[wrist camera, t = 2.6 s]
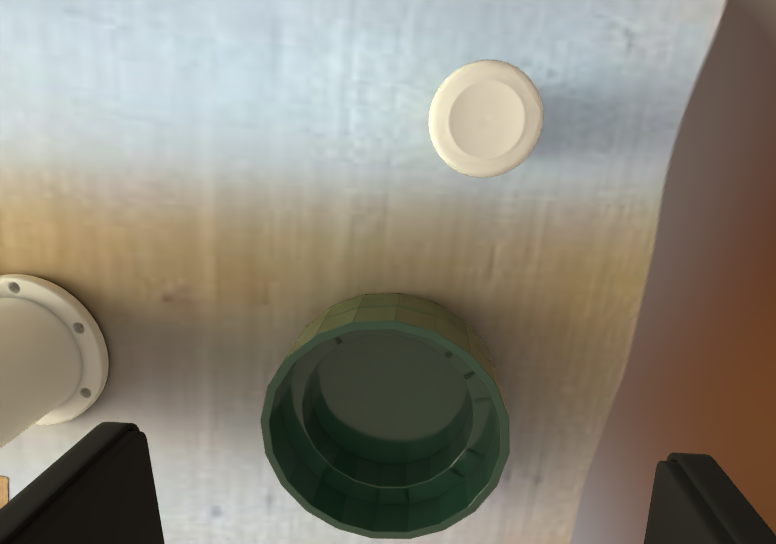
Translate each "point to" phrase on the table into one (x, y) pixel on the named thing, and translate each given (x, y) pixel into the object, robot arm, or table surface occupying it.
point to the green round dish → (387, 418)
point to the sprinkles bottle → (486, 118)
